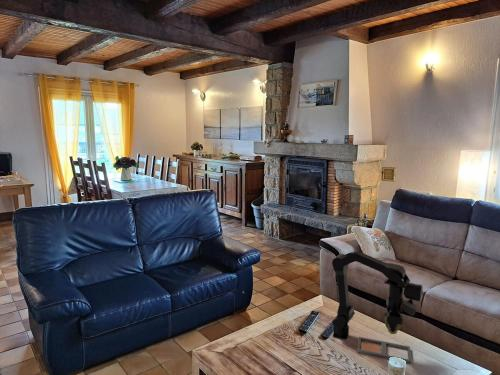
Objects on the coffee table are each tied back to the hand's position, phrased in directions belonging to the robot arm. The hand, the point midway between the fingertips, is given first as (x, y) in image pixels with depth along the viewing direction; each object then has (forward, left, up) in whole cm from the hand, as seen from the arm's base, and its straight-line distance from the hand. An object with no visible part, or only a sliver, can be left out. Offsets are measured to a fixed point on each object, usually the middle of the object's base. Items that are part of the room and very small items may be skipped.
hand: (392, 327), depth 155 cm
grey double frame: (-3, 0, -12) cm, 12 cm away
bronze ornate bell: (0, 0, -2) cm, 2 cm away
